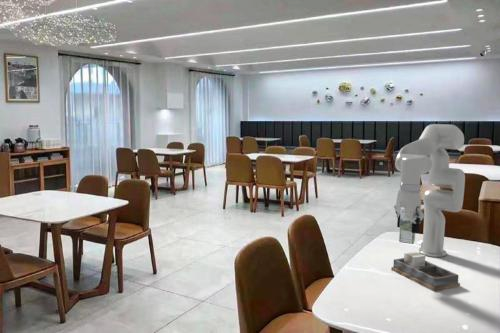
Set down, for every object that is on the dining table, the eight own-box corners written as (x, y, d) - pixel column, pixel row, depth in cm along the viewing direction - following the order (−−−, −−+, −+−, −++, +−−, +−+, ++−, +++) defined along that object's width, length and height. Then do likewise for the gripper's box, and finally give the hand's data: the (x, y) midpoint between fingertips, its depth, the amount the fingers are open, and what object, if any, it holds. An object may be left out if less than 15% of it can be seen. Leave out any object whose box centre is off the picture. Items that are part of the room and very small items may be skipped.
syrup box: (415, 240, 183) (417, 206, 181) (413, 244, 178) (415, 209, 176) (400, 238, 186) (402, 204, 184) (398, 242, 180) (400, 207, 178)
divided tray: (391, 269, 195) (392, 251, 194) (415, 265, 200) (416, 248, 199) (433, 291, 173) (434, 271, 171) (459, 286, 178) (461, 266, 177)
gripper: (388, 184, 185) (386, 225, 188) (417, 192, 169) (415, 236, 172) (403, 183, 188) (401, 223, 190) (433, 191, 172) (430, 234, 174)
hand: (407, 229), depth 181 cm, fingers closed on syrup box, 8 cm apart
